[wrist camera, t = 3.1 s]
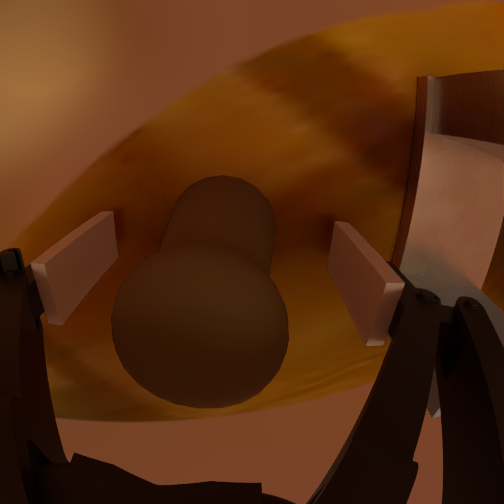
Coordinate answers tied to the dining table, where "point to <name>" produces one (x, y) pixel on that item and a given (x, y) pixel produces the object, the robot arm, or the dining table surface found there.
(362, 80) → the dining table surface
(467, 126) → the vise
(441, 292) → the block
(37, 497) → the robot arm
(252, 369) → the wooden pawn
